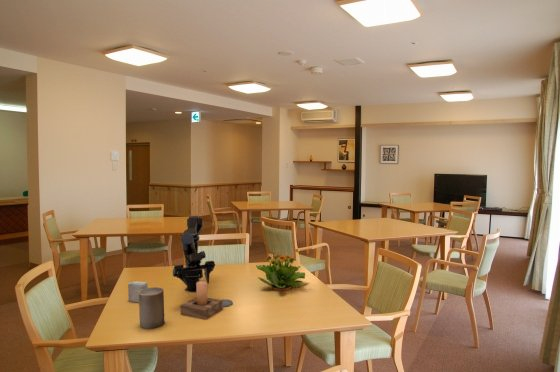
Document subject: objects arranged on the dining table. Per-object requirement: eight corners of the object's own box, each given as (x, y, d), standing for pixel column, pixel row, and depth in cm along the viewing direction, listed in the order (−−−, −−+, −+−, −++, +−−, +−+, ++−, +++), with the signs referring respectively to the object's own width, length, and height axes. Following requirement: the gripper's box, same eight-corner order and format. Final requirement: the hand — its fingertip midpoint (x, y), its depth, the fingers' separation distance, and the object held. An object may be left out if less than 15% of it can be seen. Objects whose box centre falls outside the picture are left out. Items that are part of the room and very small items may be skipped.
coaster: (221, 300, 190) (221, 298, 190) (235, 302, 186) (235, 300, 186) (211, 305, 183) (211, 303, 182) (226, 308, 179) (226, 306, 179)
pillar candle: (167, 319, 167) (166, 283, 166) (161, 328, 157) (159, 291, 156) (143, 319, 167) (142, 284, 166) (136, 329, 157) (134, 292, 156)
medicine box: (148, 300, 190) (148, 282, 189) (142, 303, 186) (142, 285, 185) (134, 298, 192) (133, 280, 191) (128, 301, 188) (127, 283, 187)
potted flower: (298, 298, 192) (298, 262, 191) (251, 294, 197) (251, 260, 196) (305, 282, 217) (306, 251, 216) (263, 280, 222) (263, 249, 221)
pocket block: (198, 304, 184) (198, 296, 183) (222, 309, 178) (222, 300, 178) (180, 314, 172) (180, 305, 172) (205, 319, 166) (205, 310, 166)
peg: (200, 309, 178) (200, 280, 177) (209, 310, 176) (208, 281, 175) (194, 312, 174) (194, 283, 173) (203, 314, 172) (202, 284, 171)
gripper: (173, 247, 177) (181, 278, 168) (213, 243, 186) (222, 272, 177) (169, 261, 184) (176, 291, 175) (208, 256, 194) (216, 285, 185)
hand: (198, 284), depth 178 cm, fingers open, 9 cm apart
